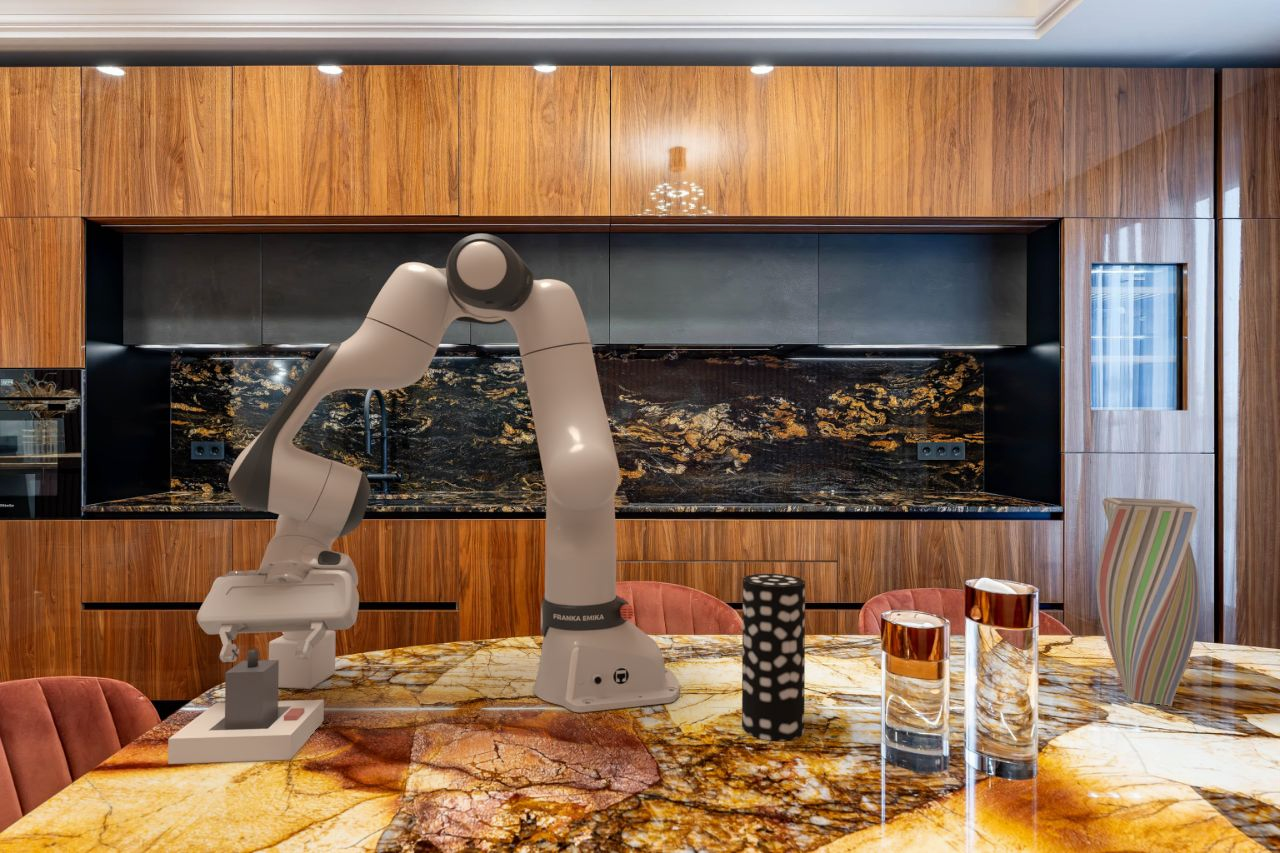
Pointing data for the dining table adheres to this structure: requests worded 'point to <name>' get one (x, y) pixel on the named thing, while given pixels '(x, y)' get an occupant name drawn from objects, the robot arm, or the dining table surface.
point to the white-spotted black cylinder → (773, 656)
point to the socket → (246, 735)
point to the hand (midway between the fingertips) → (264, 658)
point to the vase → (1148, 594)
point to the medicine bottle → (303, 660)
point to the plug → (251, 694)
